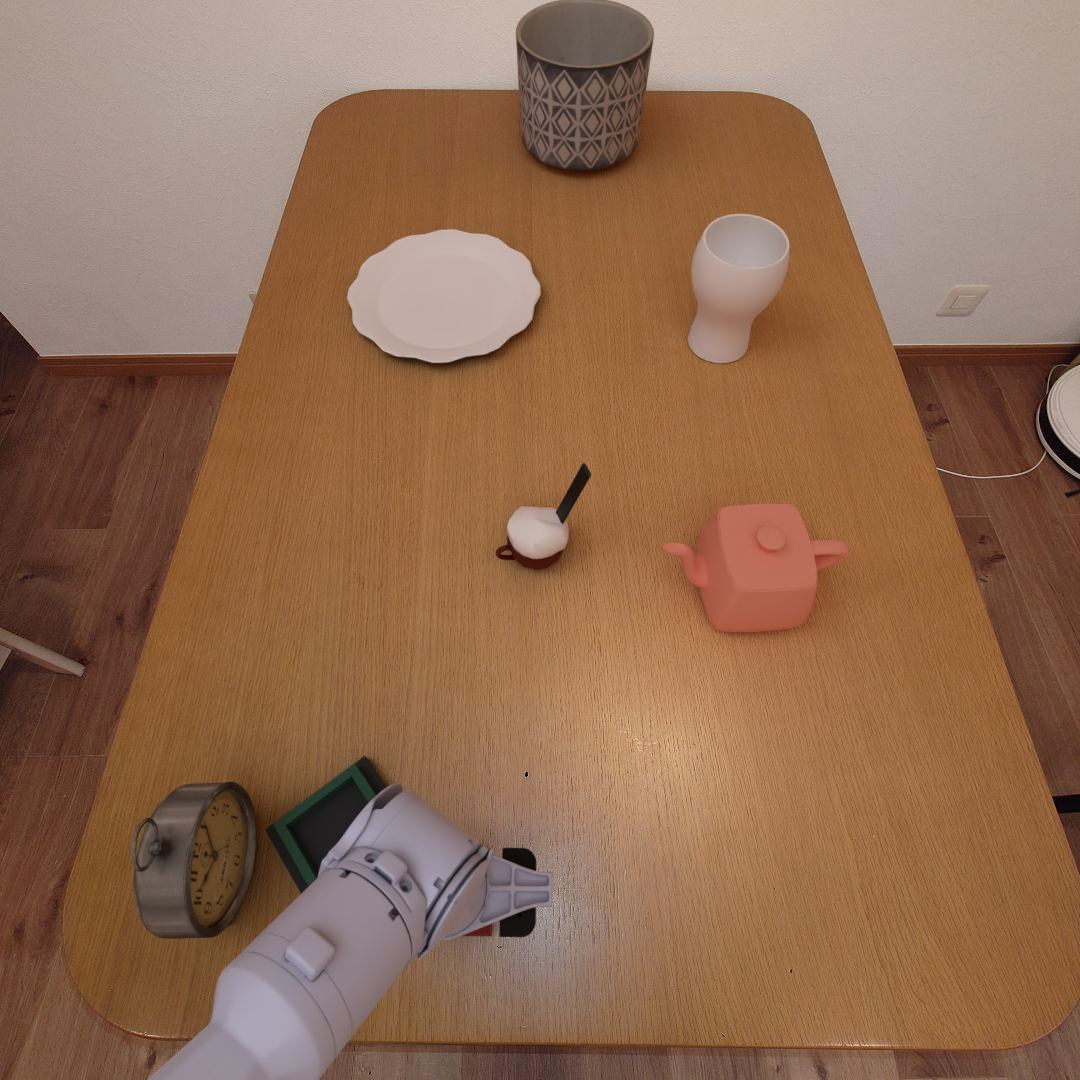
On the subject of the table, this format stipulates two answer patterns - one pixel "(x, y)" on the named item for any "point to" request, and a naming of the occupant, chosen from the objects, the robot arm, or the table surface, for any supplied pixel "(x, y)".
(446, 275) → the plate
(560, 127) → the planter
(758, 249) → the cup
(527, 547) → the cocoa
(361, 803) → the base pad
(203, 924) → the alarm clock
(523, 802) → the table surface
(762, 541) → the teapot
